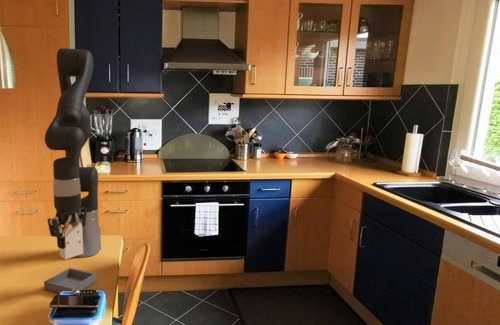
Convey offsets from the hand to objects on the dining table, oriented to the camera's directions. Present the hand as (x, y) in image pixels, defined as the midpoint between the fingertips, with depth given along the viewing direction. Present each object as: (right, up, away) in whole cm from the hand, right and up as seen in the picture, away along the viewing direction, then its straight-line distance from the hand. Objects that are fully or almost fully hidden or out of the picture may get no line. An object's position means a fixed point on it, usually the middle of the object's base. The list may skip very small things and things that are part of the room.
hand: (69, 244), depth 124 cm
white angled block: (0, -4, +1) cm, 4 cm away
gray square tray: (-1, -14, +2) cm, 14 cm away
